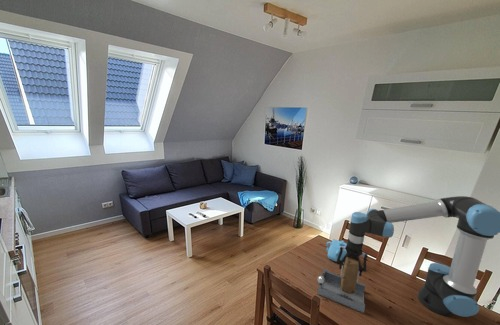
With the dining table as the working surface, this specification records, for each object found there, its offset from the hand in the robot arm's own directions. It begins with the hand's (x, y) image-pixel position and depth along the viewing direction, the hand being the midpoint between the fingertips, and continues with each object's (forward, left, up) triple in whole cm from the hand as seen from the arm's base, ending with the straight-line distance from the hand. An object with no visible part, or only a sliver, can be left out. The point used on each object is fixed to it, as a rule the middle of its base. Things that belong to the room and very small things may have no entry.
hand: (349, 277), depth 118 cm
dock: (+3, 0, -12) cm, 12 cm away
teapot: (+6, -32, -12) cm, 35 cm away
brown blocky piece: (0, 0, -7) cm, 7 cm away
